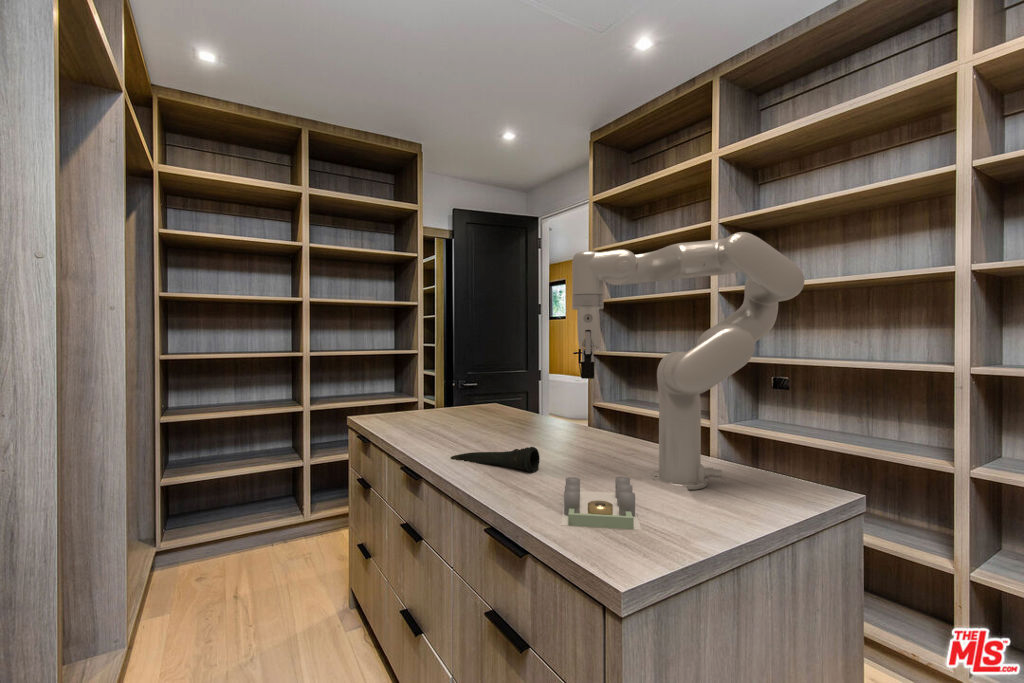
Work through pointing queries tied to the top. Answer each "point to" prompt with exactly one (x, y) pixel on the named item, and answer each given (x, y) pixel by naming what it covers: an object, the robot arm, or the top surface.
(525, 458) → the tool
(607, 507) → the gold short round piece
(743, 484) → the top surface
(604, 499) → the board
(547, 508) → the top surface
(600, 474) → the top surface
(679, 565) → the top surface
